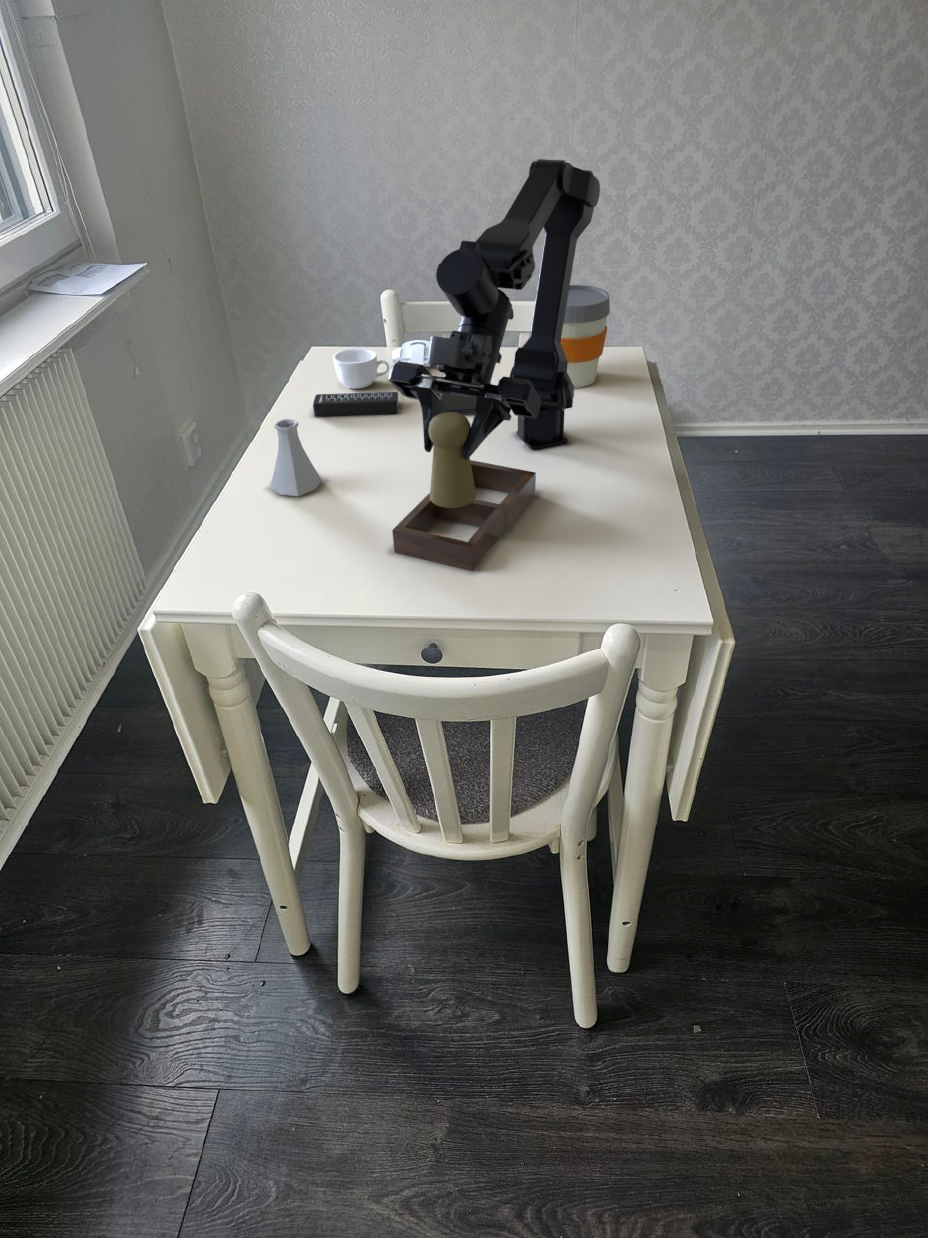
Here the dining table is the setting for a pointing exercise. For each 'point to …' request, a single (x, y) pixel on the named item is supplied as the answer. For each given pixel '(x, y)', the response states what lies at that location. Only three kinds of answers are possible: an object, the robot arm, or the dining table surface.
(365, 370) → the teacup
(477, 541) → the frame
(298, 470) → the flask
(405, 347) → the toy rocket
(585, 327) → the reusable coffee cup
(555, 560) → the dining table surface
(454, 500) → the olive pawn
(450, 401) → the smartphone
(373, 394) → the multiport hub
